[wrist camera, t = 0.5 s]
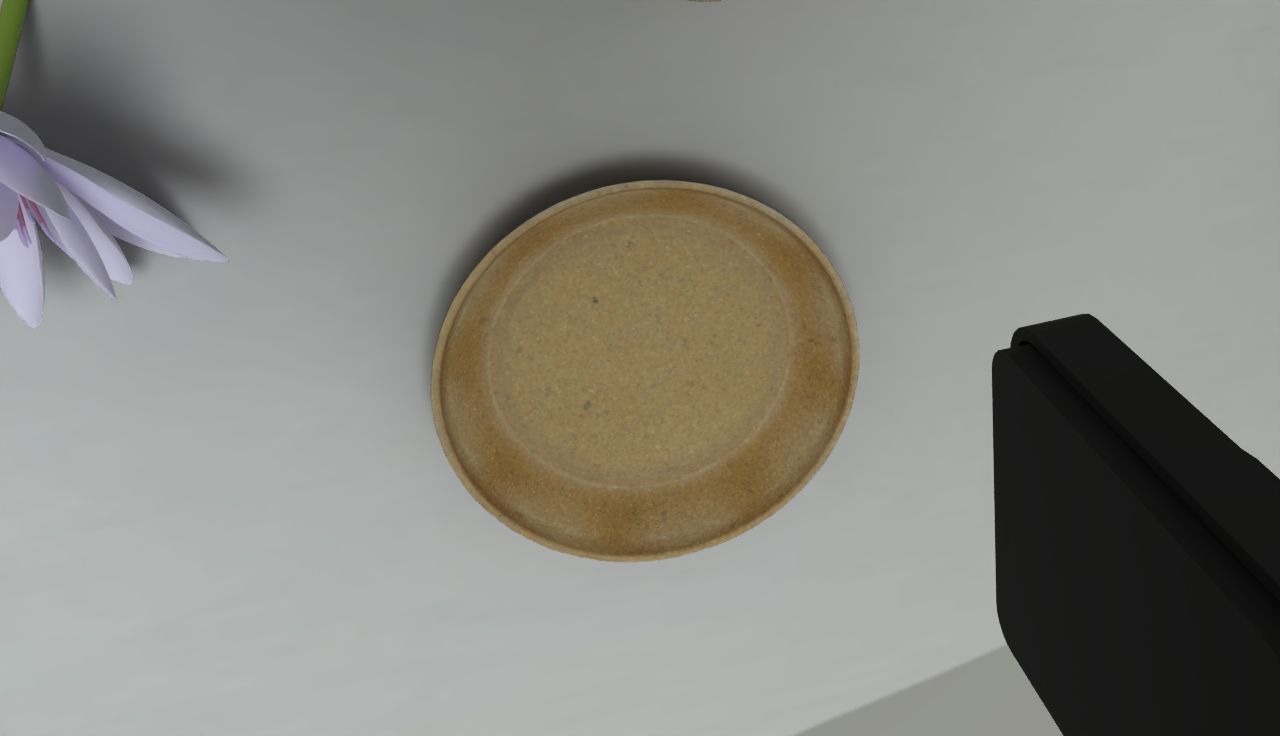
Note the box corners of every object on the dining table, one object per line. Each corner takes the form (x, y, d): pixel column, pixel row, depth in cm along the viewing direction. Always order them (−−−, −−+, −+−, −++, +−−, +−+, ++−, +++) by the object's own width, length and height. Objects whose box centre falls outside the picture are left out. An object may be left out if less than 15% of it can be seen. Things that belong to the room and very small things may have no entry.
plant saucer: (705, 573, 48) (718, 614, 46) (361, 439, 43) (357, 479, 41) (915, 268, 43) (942, 298, 41) (555, 77, 38) (563, 98, 36)
